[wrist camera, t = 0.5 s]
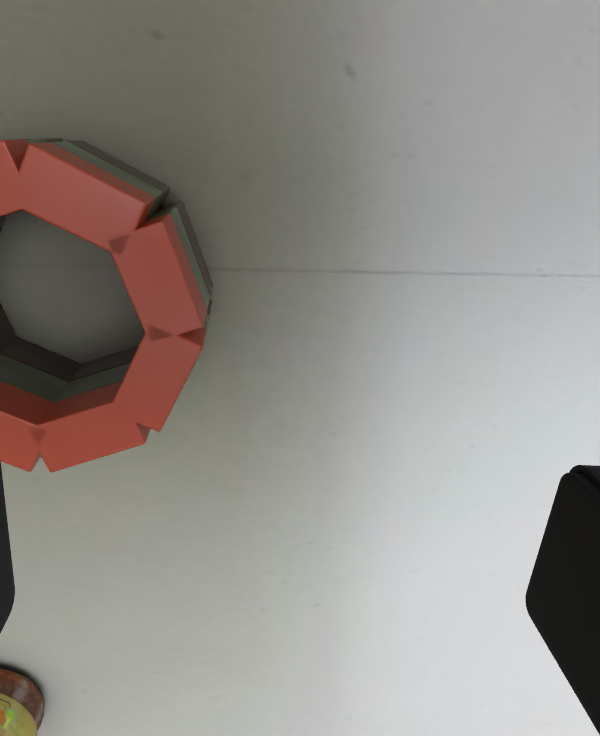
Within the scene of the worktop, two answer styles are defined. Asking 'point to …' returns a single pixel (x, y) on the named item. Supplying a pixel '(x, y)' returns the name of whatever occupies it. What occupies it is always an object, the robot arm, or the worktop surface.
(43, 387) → the ring stack
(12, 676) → the sauce bottle
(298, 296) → the worktop surface
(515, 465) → the worktop surface
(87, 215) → the terracotta ring
